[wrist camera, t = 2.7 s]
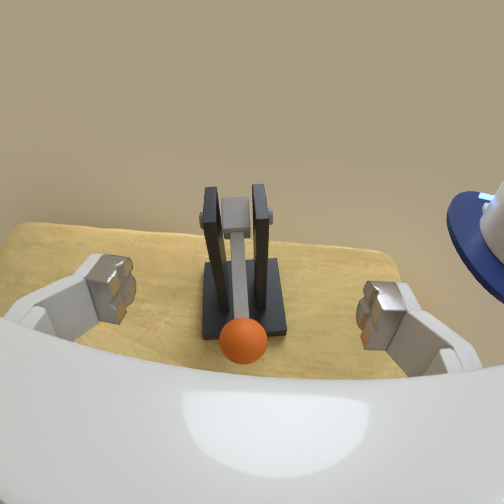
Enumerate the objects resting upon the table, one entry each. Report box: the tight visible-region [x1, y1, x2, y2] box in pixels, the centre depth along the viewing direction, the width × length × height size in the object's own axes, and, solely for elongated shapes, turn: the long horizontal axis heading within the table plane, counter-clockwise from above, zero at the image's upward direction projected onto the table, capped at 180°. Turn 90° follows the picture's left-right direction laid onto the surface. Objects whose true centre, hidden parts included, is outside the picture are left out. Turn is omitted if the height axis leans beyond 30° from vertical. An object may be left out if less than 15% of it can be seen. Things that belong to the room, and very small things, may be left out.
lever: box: [219, 196, 267, 364], centre depth 23 cm, size 13×4×4 cm, turn 4°
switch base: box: [199, 184, 287, 340], centre depth 29 cm, size 10×9×15 cm
